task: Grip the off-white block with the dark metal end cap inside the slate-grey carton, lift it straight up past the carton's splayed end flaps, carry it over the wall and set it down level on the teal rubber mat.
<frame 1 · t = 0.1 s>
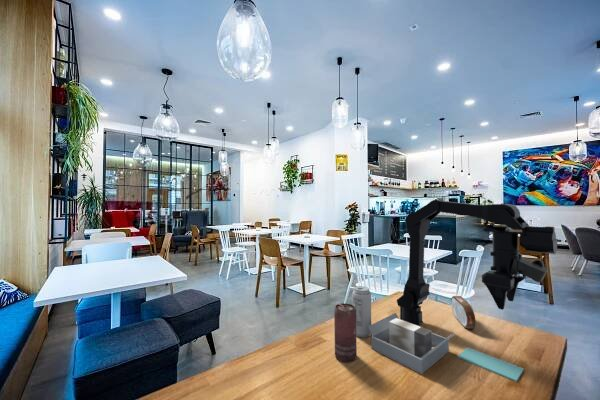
hand: (506, 304, 74), 15 cm above the table, tool pointing down, fingers open, 9 cm apart
energy drink can: (362, 334, 88), on the table
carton: (409, 349, 78), on the table
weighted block: (409, 337, 78), in the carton
can: (345, 356, 75), on the table
mat: (489, 363, 71), on the table
tin: (462, 323, 95), on the table
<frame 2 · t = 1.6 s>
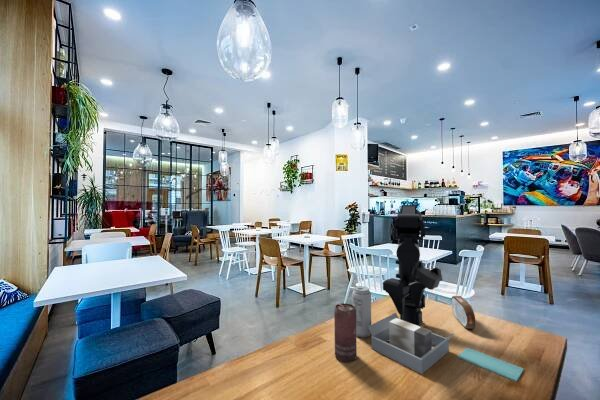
hand: (409, 310, 78), 12 cm above the table, tool pointing down, fingers open, 9 cm apart
nothing on the table moved.
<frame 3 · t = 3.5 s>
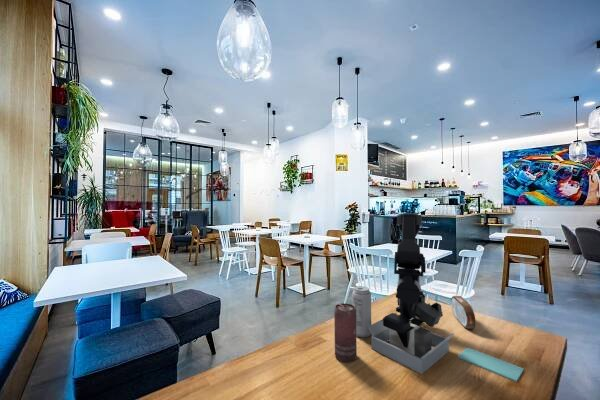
hand: (409, 344, 78), 2 cm above the table, tool pointing down, fingers closed on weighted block, 4 cm apart
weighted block: (409, 337, 78), in the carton, touching gripper
everything else where it was.
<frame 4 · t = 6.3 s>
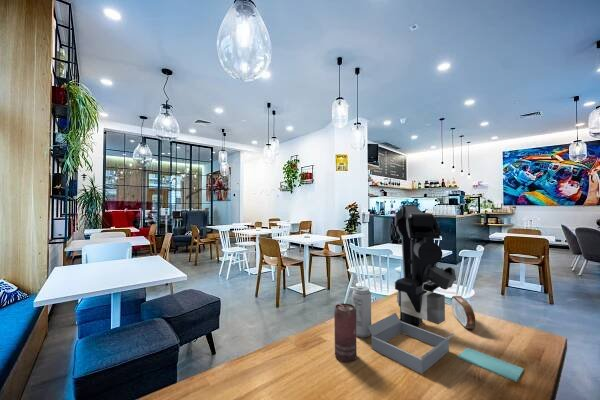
hand: (422, 310, 77), 12 cm above the table, tool pointing down, fingers closed on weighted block, 4 cm apart
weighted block: (421, 303, 77), point 14 cm above the table, touching gripper
everything else where it was.
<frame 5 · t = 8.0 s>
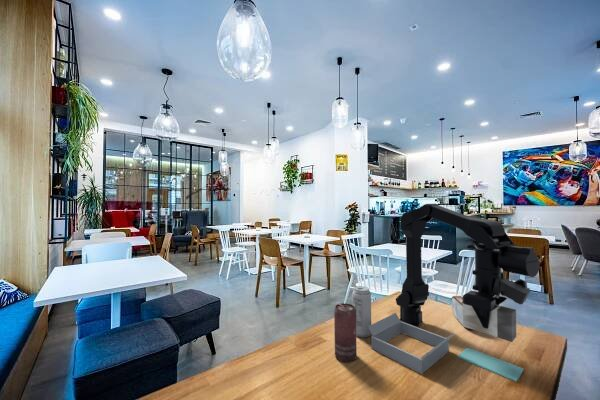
hand: (488, 325, 71), 10 cm above the table, tool pointing down, fingers closed on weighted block, 4 cm apart
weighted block: (488, 318, 71), point 12 cm above the table, touching gripper
everything else where it was.
when the fingers open (3 cm above the table, at t = 9.5 s): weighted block drops 1 cm, resting on mat.
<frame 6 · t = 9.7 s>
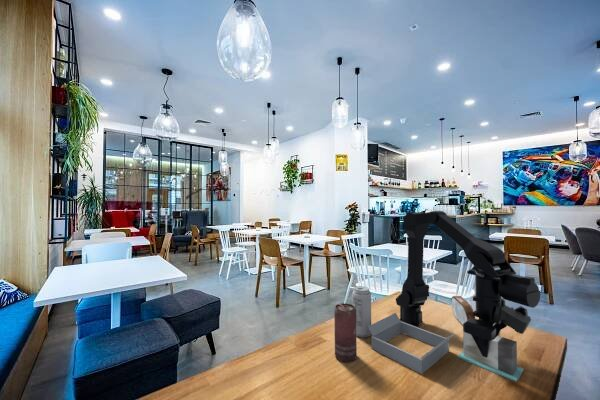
hand: (488, 352, 71), 3 cm above the table, tool pointing down, fingers open, 6 cm apart
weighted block: (488, 348, 71), on the mat
everything else where it was.
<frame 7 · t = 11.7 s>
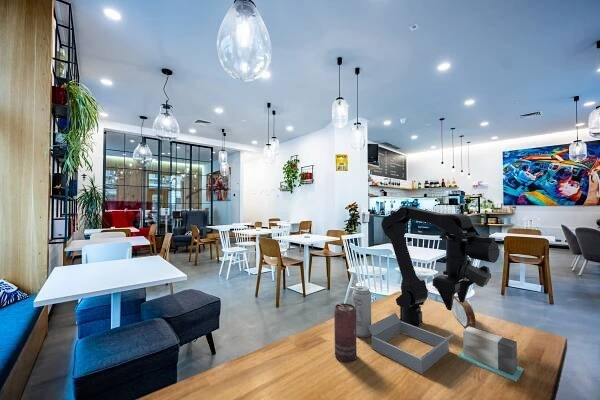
hand: (455, 306, 81), 12 cm above the table, tool pointing down, fingers open, 9 cm apart
nothing on the table moved.
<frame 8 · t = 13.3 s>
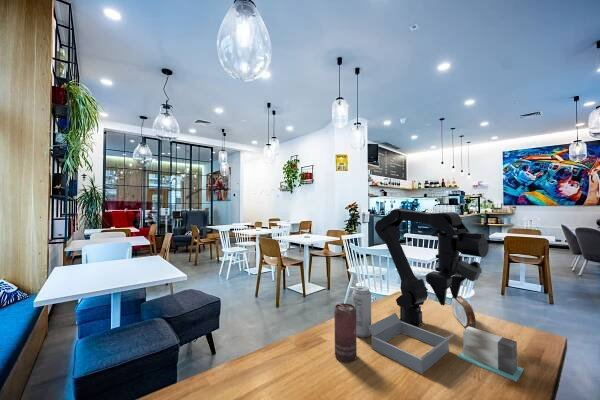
hand: (449, 301, 84), 12 cm above the table, tool pointing down, fingers open, 9 cm apart
nothing on the table moved.
at the end: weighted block 0.0 cm off-centre on the mat, point 3.9 cm above the mat's base; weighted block tilted 0°; the gripper is holding nothing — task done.
